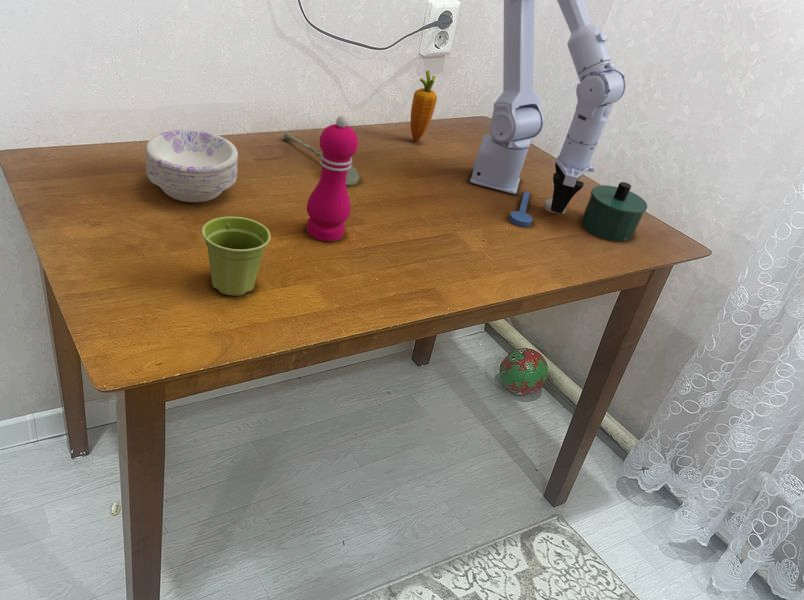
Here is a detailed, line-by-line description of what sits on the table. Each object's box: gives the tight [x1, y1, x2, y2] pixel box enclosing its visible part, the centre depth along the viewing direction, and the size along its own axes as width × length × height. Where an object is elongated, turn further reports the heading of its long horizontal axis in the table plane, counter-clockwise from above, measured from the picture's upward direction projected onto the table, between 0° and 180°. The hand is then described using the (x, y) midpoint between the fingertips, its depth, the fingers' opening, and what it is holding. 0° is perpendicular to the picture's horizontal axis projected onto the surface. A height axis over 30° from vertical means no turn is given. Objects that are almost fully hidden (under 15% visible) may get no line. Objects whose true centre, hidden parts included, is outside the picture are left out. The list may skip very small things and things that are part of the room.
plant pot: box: [201, 215, 272, 297], centre depth 101 cm, size 9×9×9 cm
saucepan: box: [581, 194, 644, 242], centre depth 135 cm, size 10×10×6 cm
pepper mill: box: [306, 115, 359, 242], centre depth 114 cm, size 7×7×20 cm
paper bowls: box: [145, 129, 239, 203], centre depth 122 cm, size 15×15×8 cm
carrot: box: [409, 70, 438, 143], centre depth 152 cm, size 5×5×15 cm
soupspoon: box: [282, 131, 361, 186], centre depth 140 cm, size 22×3×7 cm
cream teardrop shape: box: [543, 197, 567, 215], centre depth 137 cm, size 4×5×2 cm
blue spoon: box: [508, 190, 533, 227], centre depth 138 cm, size 4×15×1 cm, turn 163°
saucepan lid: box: [590, 181, 648, 214], centre depth 133 cm, size 10×10×4 cm
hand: (556, 206), depth 137 cm, fingers closed on cream teardrop shape, 4 cm apart
